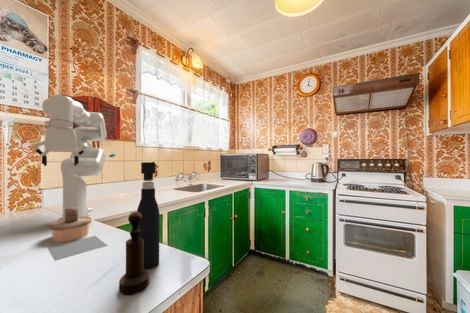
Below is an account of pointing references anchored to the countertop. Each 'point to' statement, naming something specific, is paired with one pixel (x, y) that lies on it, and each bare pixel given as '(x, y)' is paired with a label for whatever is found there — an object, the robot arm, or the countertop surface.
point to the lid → (70, 220)
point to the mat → (75, 247)
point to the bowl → (70, 233)
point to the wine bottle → (149, 217)
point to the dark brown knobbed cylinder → (134, 260)
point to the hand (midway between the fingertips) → (60, 165)
